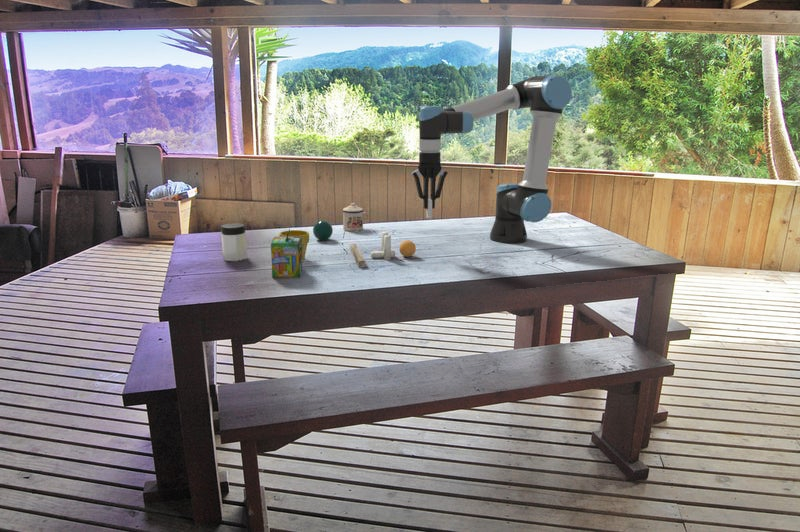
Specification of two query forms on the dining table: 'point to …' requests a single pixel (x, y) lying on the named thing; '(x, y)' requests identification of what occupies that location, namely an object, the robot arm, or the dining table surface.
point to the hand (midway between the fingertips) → (429, 217)
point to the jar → (233, 242)
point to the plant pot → (298, 234)
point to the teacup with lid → (353, 218)
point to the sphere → (322, 230)
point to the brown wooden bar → (357, 255)
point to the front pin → (381, 254)
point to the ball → (407, 248)
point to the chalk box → (286, 256)
